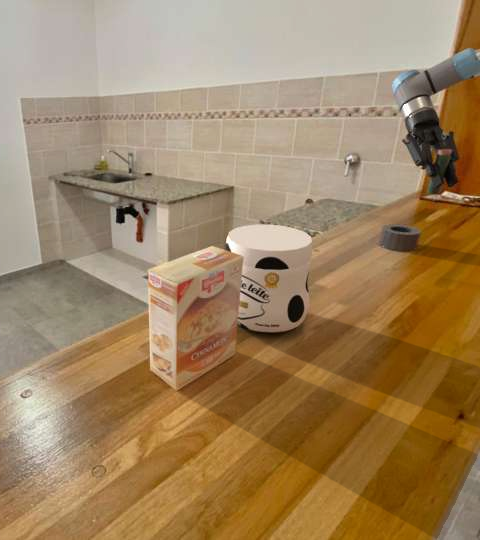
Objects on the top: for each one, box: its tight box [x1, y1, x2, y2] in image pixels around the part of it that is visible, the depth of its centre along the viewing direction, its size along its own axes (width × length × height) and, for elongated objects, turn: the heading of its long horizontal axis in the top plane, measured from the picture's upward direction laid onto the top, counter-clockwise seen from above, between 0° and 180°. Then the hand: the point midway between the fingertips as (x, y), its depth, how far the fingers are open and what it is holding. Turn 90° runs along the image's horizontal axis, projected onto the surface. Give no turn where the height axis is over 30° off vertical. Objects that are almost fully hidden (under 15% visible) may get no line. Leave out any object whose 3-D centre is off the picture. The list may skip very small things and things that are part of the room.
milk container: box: [224, 224, 313, 335], centre depth 76 cm, size 17×17×18 cm
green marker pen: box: [426, 149, 452, 195], centre depth 107 cm, size 3×3×12 cm
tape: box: [378, 224, 422, 252], centre depth 109 cm, size 9×9×5 cm
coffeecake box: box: [147, 245, 244, 392], centre depth 64 cm, size 15×7×20 cm, turn 126°
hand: (446, 184), depth 104 cm, fingers closed on green marker pen, 3 cm apart
